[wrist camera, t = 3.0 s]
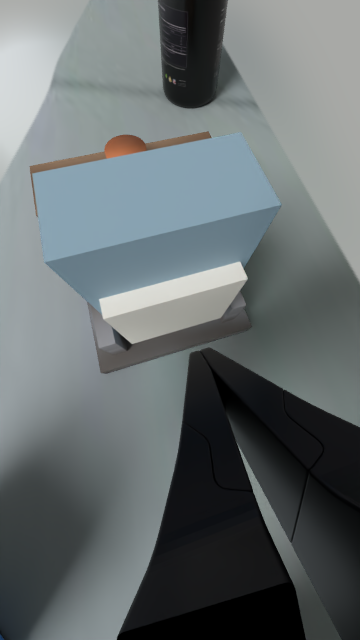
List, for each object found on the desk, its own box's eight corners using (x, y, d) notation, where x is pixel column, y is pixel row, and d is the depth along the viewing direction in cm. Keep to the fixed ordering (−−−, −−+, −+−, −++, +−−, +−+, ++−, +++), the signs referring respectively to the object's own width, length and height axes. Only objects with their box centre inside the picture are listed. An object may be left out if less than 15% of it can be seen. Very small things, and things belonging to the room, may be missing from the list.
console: (247, 330, 17) (305, 287, 9) (106, 373, 16) (39, 365, 8) (198, 211, 21) (211, 109, 13) (79, 239, 20) (15, 145, 12)
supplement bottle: (188, 70, 28) (196, -149, 16) (226, 93, 27) (264, -127, 15) (151, 92, 26) (132, -133, 15) (189, 118, 25) (201, -106, 14)
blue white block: (216, 329, 16) (294, 227, 5) (136, 353, 15) (48, 291, 5) (200, 287, 17) (241, 131, 6) (124, 307, 16) (32, 173, 6)
